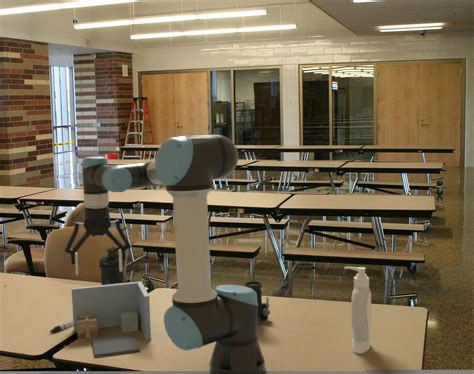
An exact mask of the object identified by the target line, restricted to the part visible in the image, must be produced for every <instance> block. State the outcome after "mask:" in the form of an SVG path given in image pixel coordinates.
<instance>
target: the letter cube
mask: <svg viewBox="0 0 474 374" xmlns="http://www.w3.org/2000/svg"><path fill="white" fill-rule="evenodd" d="M76 333H77V339H86V340H90V339H89V338H94V339H96V338H99V337H98V334H99V333H98V328H97V318H96V314H91V315H82V316H77V331H76Z"/></svg>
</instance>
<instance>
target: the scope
mask: <svg viewBox="0 0 474 374" xmlns="http://www.w3.org/2000/svg"><path fill="white" fill-rule="evenodd" d="M244 286H245V287H249V288H251V289H253V290H254V291H255V292H256V294H257V303H258V327H259V326H260V325H261V321H267V320H268V319H269V316H270V314H271V310H270V302H269V301H270V300H269V296H268V297H266V298H265V299H266V302H265V303H264V302H263V301H262V298H263V297H262V289H261V288H262V282H260V281H256V280H255V281H247V282H245V283H244Z"/></svg>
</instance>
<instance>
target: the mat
mask: <svg viewBox="0 0 474 374" xmlns="http://www.w3.org/2000/svg"><path fill="white" fill-rule="evenodd" d="M91 345H92V349H94V350H93V354H94V355H93V356H94V358H98V357H97V356H101V357H106V356H107V357H108V356H115V355H121V354H122V355H123V354H131V353H139V352H140V347H139V344H138V342H137V339H136V336H135V333H132V334H131V333H130V334H123V335H113V336H106V337H98V338H94V339H91Z"/></svg>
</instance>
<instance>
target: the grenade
mask: <svg viewBox="0 0 474 374" xmlns="http://www.w3.org/2000/svg"><path fill="white" fill-rule="evenodd" d="M119 250H121V249H120V248H119V247H118V246H116V247H115V246H112V247H110V248H107V249H105V252H107V256H103V257H102V258H100V259H99V260H98V264H99V265H98V266H99V269H100V277H101V278H100V283H101V284H100V285H110V284H120V283H125V274H124V271H125V270H124V267H125V260H123V261H122V271H121V272H120V270H119Z"/></svg>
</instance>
